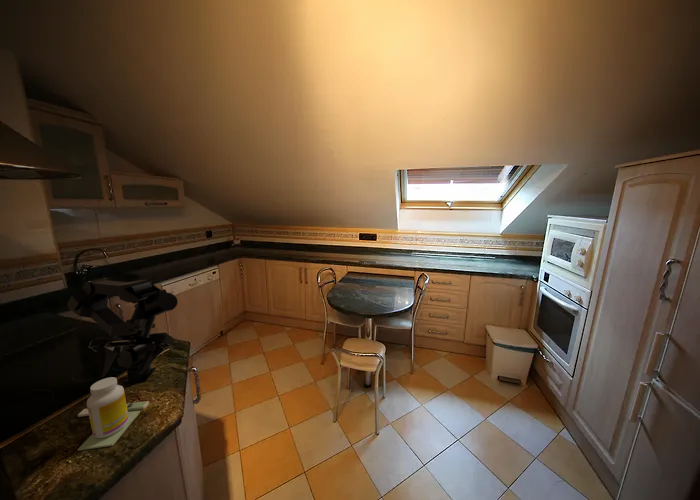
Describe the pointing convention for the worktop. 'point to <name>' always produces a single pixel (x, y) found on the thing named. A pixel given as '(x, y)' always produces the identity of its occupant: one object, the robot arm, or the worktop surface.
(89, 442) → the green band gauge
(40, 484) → the worktop surface
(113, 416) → the supplement bottle
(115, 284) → the robot arm
